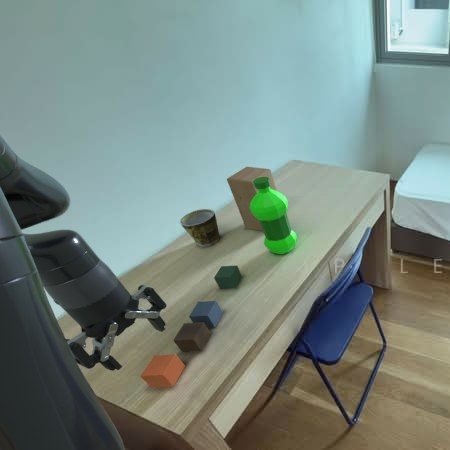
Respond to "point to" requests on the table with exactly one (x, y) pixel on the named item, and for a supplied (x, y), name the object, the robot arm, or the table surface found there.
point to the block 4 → (228, 277)
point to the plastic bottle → (272, 217)
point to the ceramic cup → (201, 226)
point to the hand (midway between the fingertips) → (140, 347)
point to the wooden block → (248, 192)
